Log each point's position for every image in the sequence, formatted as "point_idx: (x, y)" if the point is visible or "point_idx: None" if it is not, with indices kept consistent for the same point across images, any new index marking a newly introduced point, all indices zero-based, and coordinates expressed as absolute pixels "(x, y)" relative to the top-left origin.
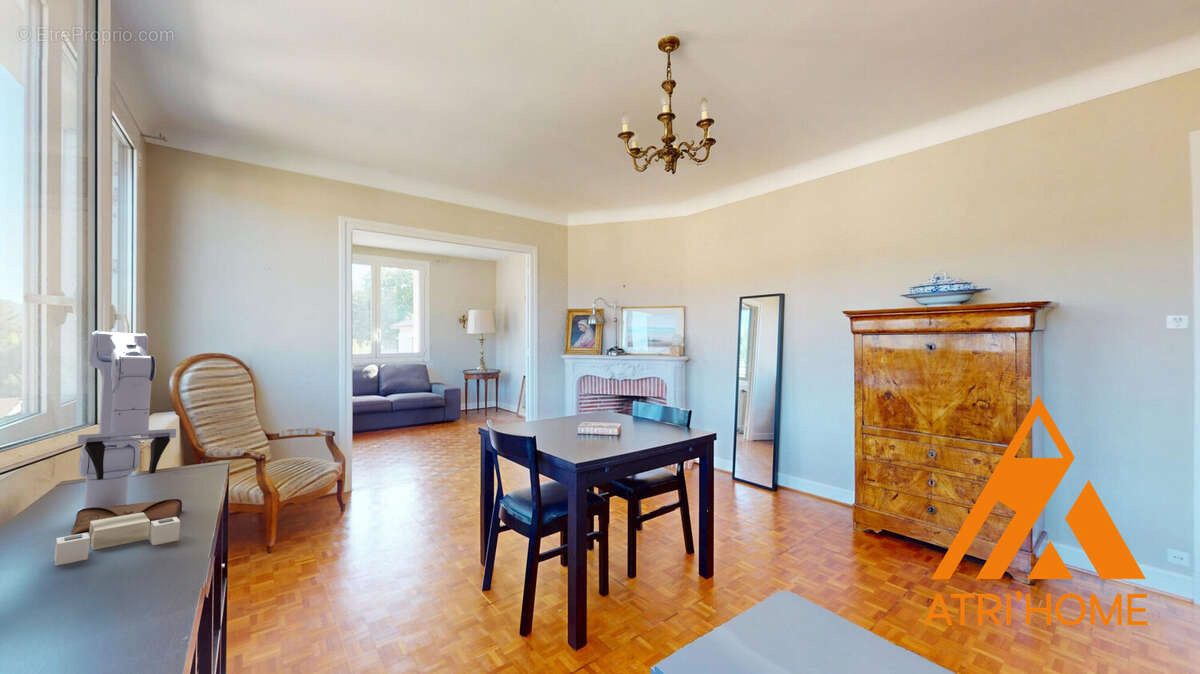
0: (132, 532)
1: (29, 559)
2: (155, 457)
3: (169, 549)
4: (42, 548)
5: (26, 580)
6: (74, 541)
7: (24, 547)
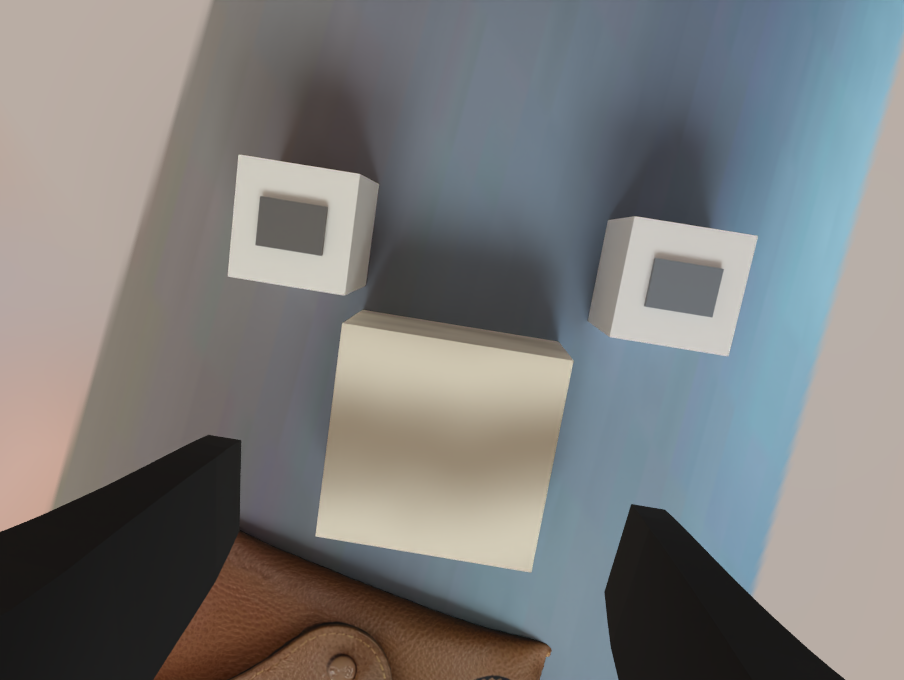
0: (419, 328)
1: (741, 417)
2: (93, 523)
3: (349, 48)
4: None
5: (830, 124)
6: (693, 227)
7: None
